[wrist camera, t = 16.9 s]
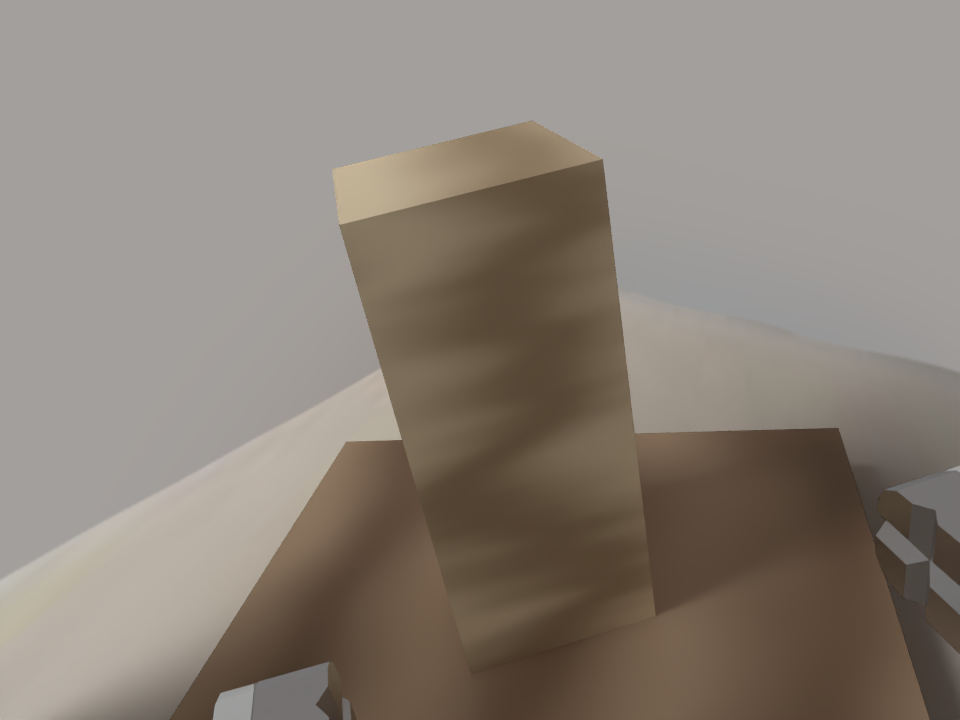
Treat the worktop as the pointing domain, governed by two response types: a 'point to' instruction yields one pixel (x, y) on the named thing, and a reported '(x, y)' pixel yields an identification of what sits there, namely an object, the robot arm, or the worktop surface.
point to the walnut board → (616, 653)
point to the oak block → (507, 380)
